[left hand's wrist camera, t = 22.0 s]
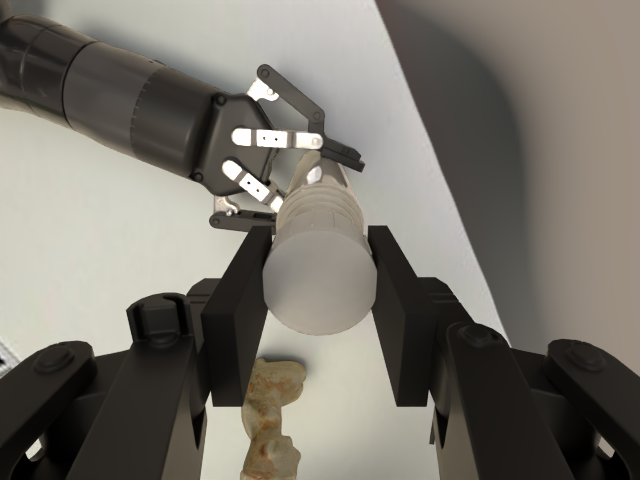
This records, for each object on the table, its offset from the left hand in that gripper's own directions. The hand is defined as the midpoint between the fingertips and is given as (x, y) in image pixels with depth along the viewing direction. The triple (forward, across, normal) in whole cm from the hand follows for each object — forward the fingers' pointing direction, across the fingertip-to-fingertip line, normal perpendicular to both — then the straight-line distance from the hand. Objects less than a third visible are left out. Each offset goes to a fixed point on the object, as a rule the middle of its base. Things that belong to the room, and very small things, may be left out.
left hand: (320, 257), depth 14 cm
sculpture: (+22, +5, +25) cm, 34 cm away
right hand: (+16, -2, +1) cm, 16 cm away
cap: (-2, 0, 0) cm, 2 cm away
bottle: (+22, 0, 0) cm, 22 cm away
